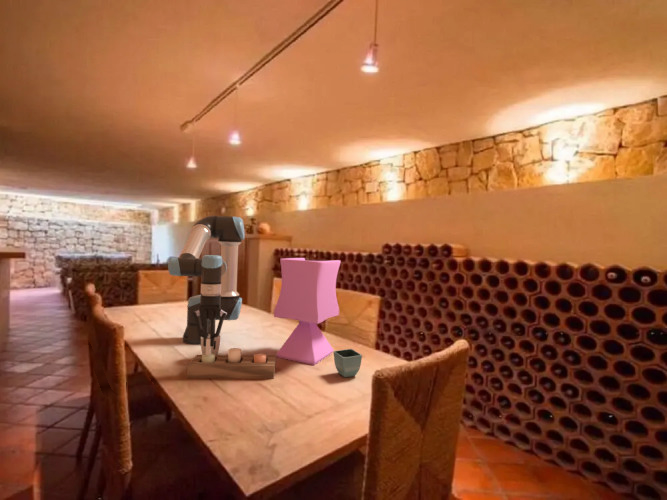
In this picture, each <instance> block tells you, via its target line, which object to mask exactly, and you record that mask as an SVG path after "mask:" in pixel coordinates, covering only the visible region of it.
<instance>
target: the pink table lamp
mask: <svg viewBox="0 0 667 500" xmlns="http://www.w3.org/2000/svg"><path fill="white" fill-rule="evenodd" d="M340 266H341V260H338V259H336V260H334V259H333V260H306V258H305V257H287V258H280V269H281V285H280V290H279V291H280V293H279V296H278V299H277V302H276V304H275V308H274V310H273V318H279V319H289V320H290V319H291V320H294V321H299V322H298V324H297V325H296V327H295V328H294V330H293V331H292V332H291V333H290V335H289V336H288V338H287V339H286V340H285V342H283V344H282V346H281V347H280V348H279V349H278V351H277V352H276V358H279V359H282V360H283V359H284V360H287V359H288V361H292V360H293V362H296V361H297V362H298V363H301V362H302V363H301V364H305V365H306V364H307V365H310V364H311V366H316V365H317V364H319V363H320V362H322V361H323V360H325V359H326V358H328V357H329V356H328V355H330V354H331V353H332V352H333V353H334V348H333V347H332V345H331V343H330V342H329V341H328V339H327V338H326V336H325V335H324V333H323V332H322V331H321V329H320V328H319V326H318V324H320V323H323V322H324V321H325V320H327V319H329V318H333V317H335V318H336V317H337V316H339V315H340V307H339V303H338V298H337V291H336V290H337V288H336V287H337V277H338V272H339V269H340ZM331 355H332V354H331ZM331 355H330V356H331ZM327 356H328V357H327ZM325 357H326V358H325ZM324 358H325V359H324ZM322 359H323V360H322ZM321 360H322V361H321ZM319 361H320V362H319ZM318 362H319V363H318ZM315 364H316V365H315Z"/></svg>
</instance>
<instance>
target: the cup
mask: <svg viewBox="0 0 667 500" xmlns="http://www.w3.org/2000/svg"><path fill="white" fill-rule="evenodd" d="M208 337H210V334H208ZM203 341H204V339H203V337H201V344H200V348H201V349H200V350H201V355H203V354H205V353H206V346H203ZM220 342H221V335H220V334H219V336H218V337H215V338H214V346H212V348H211V353H214V354H215V355H219V351H220V347H221V346H220V345H221V343H220Z"/></svg>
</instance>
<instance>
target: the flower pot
mask: <svg viewBox="0 0 667 500" xmlns="http://www.w3.org/2000/svg"><path fill="white" fill-rule="evenodd" d="M362 358H363V354H361V353H359V352H358V351H356V350H354V349H352V348H347V349H341V350H340V349H339V350H333V359H334V366H335V369H336V371H337V372H338V374H339V375H341V376H342V377H343V378H349V377H351V378H352V377H355V376H357V374H358V372H359V371H360V368H361V366H362Z"/></svg>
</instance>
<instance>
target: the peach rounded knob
mask: <svg viewBox="0 0 667 500" xmlns="http://www.w3.org/2000/svg"><path fill="white" fill-rule="evenodd" d="M227 355H228V363H240V362H241V355H242V349H241V348H239V347H234V348H229V349H228V354H227Z"/></svg>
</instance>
